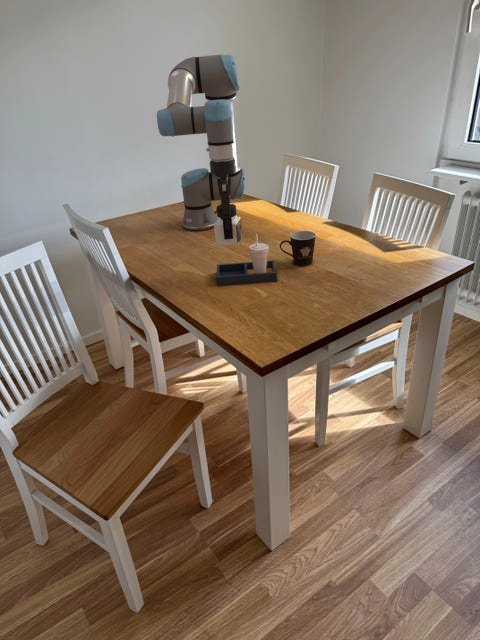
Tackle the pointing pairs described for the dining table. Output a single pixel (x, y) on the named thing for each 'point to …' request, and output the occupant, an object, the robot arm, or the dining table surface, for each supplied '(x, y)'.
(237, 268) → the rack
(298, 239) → the coffee mug
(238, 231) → the medicine bottle
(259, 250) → the smoothie
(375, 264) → the dining table surface
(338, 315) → the dining table surface
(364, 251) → the dining table surface
